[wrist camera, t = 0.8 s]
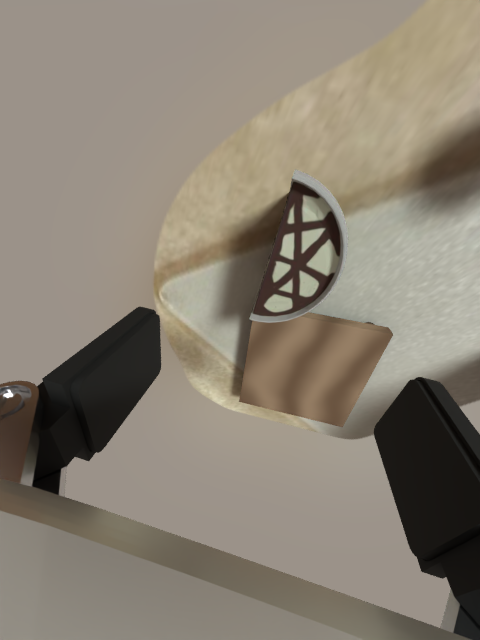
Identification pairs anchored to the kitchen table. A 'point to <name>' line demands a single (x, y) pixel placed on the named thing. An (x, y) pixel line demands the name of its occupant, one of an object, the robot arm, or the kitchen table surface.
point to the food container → (303, 253)
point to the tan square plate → (311, 365)
